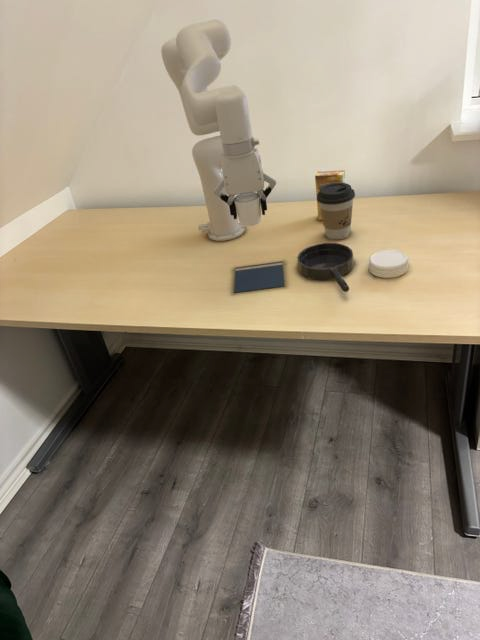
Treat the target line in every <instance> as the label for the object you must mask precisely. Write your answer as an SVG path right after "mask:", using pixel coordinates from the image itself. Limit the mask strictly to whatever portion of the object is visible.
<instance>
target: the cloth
mask: <svg viewBox="0 0 480 640" xmlns="http://www.w3.org/2000/svg"><path fill="white" fill-rule="evenodd" d="M234 273H235V274H234V285H233V293H234V294H239V293H246V292H247V293H248V292H254V291H261V290H263V291H264V290H270V289H278V288H285V287H286V286H285V275H284V264H283V261H282V260H281V261H275V262H268V263H260V264H252V265H245V266H244V265H243V266H238V267H235V268H234Z"/></svg>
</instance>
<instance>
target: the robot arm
mask: <svg viewBox="0 0 480 640" xmlns="http://www.w3.org/2000/svg"><path fill="white" fill-rule="evenodd" d="M231 43H232V39H231V35H230V31H229V29H228V27H227V25H226V24H225V22H224V21H221V20H220V19H212V20H206V21H202V22H197V23H193V24H189V25H186V26H184V27H182V28H181V29H180V30H179V31H178V33H177V34H176V37H173V38H169V39H168V40H167V41H164V42H163V44H162V46H161V50H160V52H161V58H162V62H163V65H164V68H165V71H166V72H167V74H168V76H169V78H170V79H171V81H172V83H173V84H174V86H175V87H176V89H177V91H178V93H179V96H180V101H181V103H182V107H183V111H184V115H185V118H186V121H187V124H188V127H189V129H190V131H191V133H192V134H193V135H194V136H206V135H210V134H214V133H217V132H219V135H216V136H212V137H208V138H207V137H206V138H204V139H201V140H199V141H197V142H196V143H195V144H194V145H193V146H192V149H191V155H192V159H193V161H194V164H195V167H196V170H197V173H198V176H199V179H200V182H201V187H202V191H203V196H204V201H205V205H206V211H207V215H208V219H209V221H208V222H206V223H200V224H198V225H197V228H198V231H200V232H201V233H205V232H207V237H208V238H209V239H210V240H211V241H218V242H225V241H230V240H235V239H236V238H238V237H240V236H242V235H243V234H244V232H245V231H246V230H245V226H242V225H241V224H240V221H239V217H238V214H237V210H236V207H235V203H234V198H235V196H237V195H240V194H245V193H251V192H256V193H258V194H259V196H260V207H261V216H265V215H266V211H268V205H267V198H268V197H269V195H270V194H271V193H272V191H273V190H274V188H275V186H276V185H277V180H276V179H274V178H272V177H271V176H270V175H268V174H266V173H264V168H263V164H262V161H261V156H260V153H259V150H258V148H257V147H256V146H258V145H260V139H259V138H254V137H253V132H252V127H251V125H252V124H251V118H250V111H249V105H248V99H247V96H246V93H244V91H243V90H242V88H240V86H238V85H235V84H234V85H233V84H232V85H227V86H222V87H218V88H213V89H210V90H209V89H208V87H209V86H210V85H211V84H213V83H214V82H215V81H216V80H217V78H218V77H219V75H220V73H221V69H222V65H221V64H222V63H221V60H223V58H225V57H226V56H227V55H228V54H229V52H230V50H231V46H232V44H231ZM265 182H266V183H268V186H266V188H265Z"/></svg>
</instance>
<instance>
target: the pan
mask: <svg viewBox="0 0 480 640" xmlns="http://www.w3.org/2000/svg"><path fill="white" fill-rule="evenodd" d="M354 262H355V261H354V251H353V250H352V249H351V248H350V247H349V246H348V245H345V244H342V243H337V242H323V243H322V242H321V243H316V244H312V245H310V246H308V247H306V248H304V249H302V251H300V252H299V253H298V255H297V266H298V267H297V268H298V272H299V273H300V274H301V275H302V276H304V277H305V278H308V279H310V280H315V281H328V280H335V278H334V277H333V275H332V273H331V272H330V268H333V267H334V268H335V267H336V268H337V270H338V271H339V273H340V274H341V276H342V277H343V276H345V275H346V274H348V273H349V272H351V270H353V268H354Z"/></svg>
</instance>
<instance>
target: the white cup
mask: <svg viewBox="0 0 480 640" xmlns="http://www.w3.org/2000/svg"><path fill="white" fill-rule="evenodd" d="M260 198H261V197H260V196H259V194H258V193H257V192H251V193H245V194H238V195H235V196H234V203H235V207H236V210H237V216H238V221H239V223H240V224H241V225H242V226H244V227H248V228H249V227H254V226H257V225H259V224H260V223H261V222H262V209H261V203H260Z"/></svg>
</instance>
